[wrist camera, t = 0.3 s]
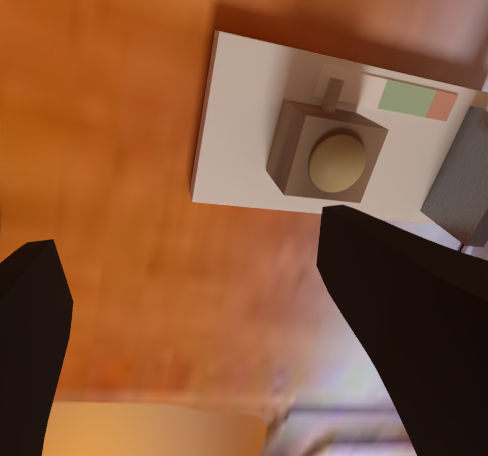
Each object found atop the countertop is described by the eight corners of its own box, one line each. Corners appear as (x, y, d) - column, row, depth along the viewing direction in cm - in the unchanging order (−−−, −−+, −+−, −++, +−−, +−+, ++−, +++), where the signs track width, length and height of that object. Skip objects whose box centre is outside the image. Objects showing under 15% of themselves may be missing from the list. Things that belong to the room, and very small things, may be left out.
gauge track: (481, 91, 22) (500, 95, 21) (422, 215, 25) (434, 224, 24) (215, 29, 17) (220, 31, 16) (189, 192, 21) (192, 202, 20)
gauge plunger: (366, 83, 19) (405, 98, 16) (334, 178, 21) (363, 206, 18) (291, 68, 17) (319, 80, 15) (265, 170, 20) (285, 197, 17)
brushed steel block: (486, 109, 21) (552, 130, 18) (435, 212, 24) (483, 247, 20) (469, 105, 21) (533, 126, 17) (419, 211, 23) (466, 246, 20)
